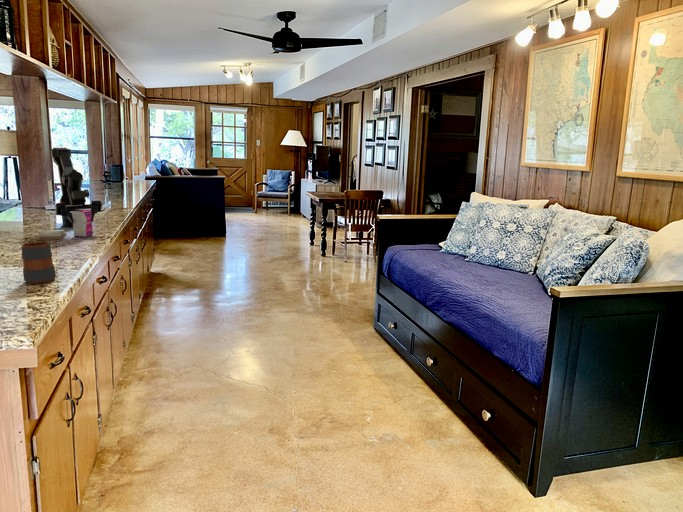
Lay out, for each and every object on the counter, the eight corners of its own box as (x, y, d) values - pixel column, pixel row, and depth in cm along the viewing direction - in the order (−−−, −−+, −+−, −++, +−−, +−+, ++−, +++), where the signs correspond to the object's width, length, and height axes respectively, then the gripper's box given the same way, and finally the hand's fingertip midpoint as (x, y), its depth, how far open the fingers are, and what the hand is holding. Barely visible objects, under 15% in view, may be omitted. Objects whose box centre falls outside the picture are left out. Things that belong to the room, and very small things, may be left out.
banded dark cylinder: (58, 273, 170) (53, 238, 168) (55, 282, 160) (50, 245, 157) (27, 276, 167) (22, 240, 164) (22, 286, 156) (17, 247, 154)
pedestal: (44, 236, 235) (43, 230, 234) (66, 235, 237) (66, 229, 237) (39, 240, 226) (38, 233, 226) (62, 239, 229) (61, 232, 228)
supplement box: (85, 237, 233) (82, 212, 231) (73, 237, 234) (70, 211, 232) (93, 235, 239) (91, 210, 236) (82, 234, 240) (79, 210, 237)
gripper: (53, 184, 229) (60, 212, 223) (98, 182, 240) (106, 209, 234) (52, 201, 237) (59, 228, 231) (97, 198, 248) (104, 224, 241)
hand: (82, 222), depth 234 cm, fingers closed on supplement box, 8 cm apart
